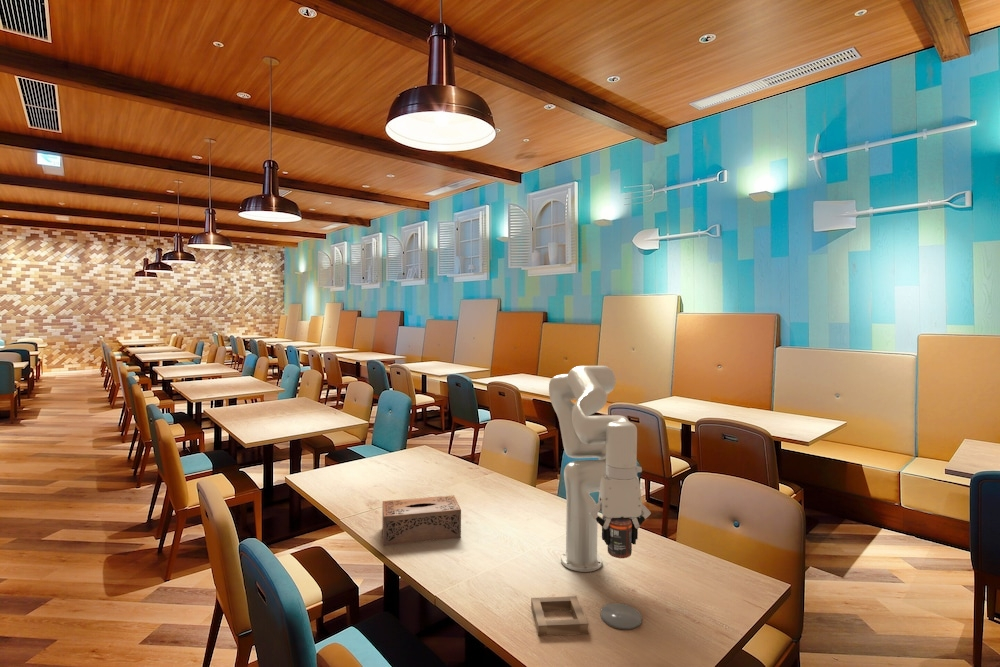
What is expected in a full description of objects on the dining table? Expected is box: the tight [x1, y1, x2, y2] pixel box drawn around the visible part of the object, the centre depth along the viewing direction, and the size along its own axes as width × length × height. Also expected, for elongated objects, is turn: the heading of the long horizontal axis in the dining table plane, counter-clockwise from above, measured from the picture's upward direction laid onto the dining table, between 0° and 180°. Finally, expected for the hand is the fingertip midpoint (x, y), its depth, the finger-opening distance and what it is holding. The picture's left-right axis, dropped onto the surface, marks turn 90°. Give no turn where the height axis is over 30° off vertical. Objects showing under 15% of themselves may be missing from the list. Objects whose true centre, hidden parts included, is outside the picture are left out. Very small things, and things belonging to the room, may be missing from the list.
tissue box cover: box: [382, 494, 462, 546], centre depth 177 cm, size 26×14×10 cm, turn 105°
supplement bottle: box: [607, 517, 633, 559], centre depth 127 cm, size 6×6×11 cm
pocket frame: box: [530, 595, 589, 637], centre depth 127 cm, size 12×12×2 cm
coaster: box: [600, 602, 642, 630], centre depth 128 cm, size 10×10×1 cm
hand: (619, 541), depth 127 cm, fingers closed on supplement bottle, 6 cm apart
